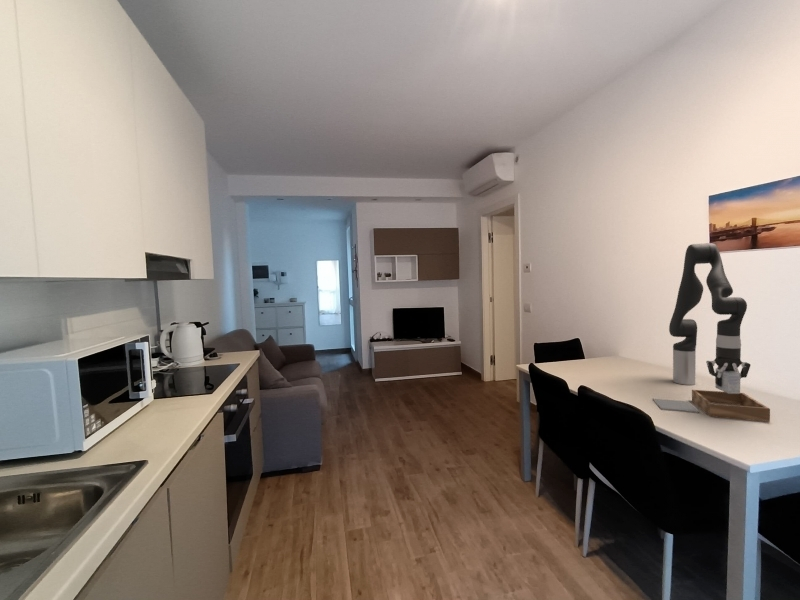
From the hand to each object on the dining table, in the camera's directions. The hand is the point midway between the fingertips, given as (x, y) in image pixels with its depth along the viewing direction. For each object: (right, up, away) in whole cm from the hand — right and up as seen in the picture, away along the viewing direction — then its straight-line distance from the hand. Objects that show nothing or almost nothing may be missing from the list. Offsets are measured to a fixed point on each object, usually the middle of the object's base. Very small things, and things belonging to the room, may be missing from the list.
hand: (727, 386), depth 149 cm
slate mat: (-16, -10, +7) cm, 21 cm away
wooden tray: (0, -10, 0) cm, 10 cm away
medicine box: (0, -2, 0) cm, 2 cm away
